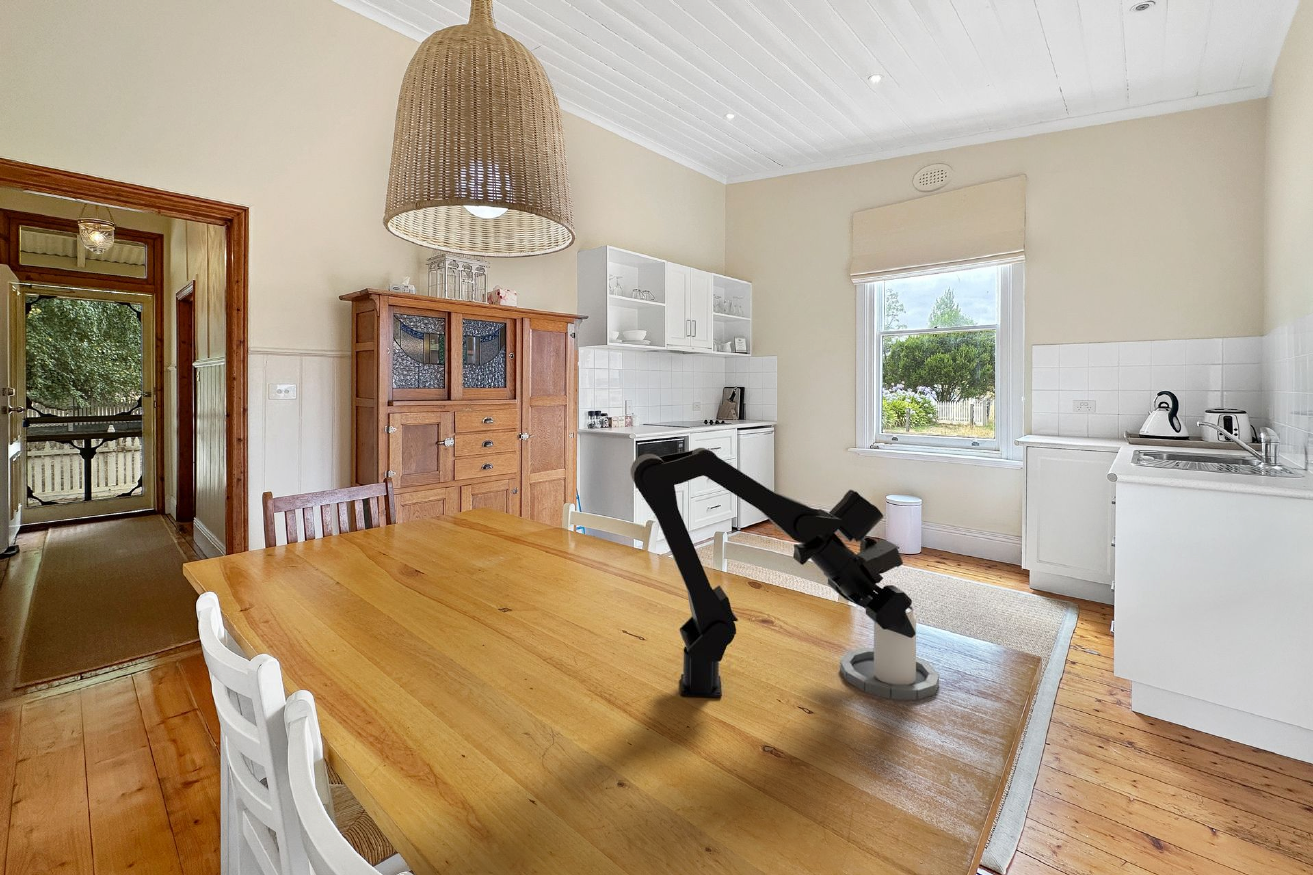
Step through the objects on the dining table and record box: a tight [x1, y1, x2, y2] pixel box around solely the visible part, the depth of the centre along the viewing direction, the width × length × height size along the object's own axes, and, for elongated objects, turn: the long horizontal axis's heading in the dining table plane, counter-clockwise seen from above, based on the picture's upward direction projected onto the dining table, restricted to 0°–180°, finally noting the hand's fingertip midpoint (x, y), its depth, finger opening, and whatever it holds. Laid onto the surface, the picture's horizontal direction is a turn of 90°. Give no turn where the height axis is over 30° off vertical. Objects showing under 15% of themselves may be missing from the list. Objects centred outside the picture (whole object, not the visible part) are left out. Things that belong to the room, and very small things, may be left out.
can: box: [873, 605, 917, 685], centre depth 99 cm, size 6×6×12 cm
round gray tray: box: [839, 647, 940, 701], centre depth 101 cm, size 15×15×2 cm
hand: (898, 624), depth 100 cm, fingers open, 9 cm apart
